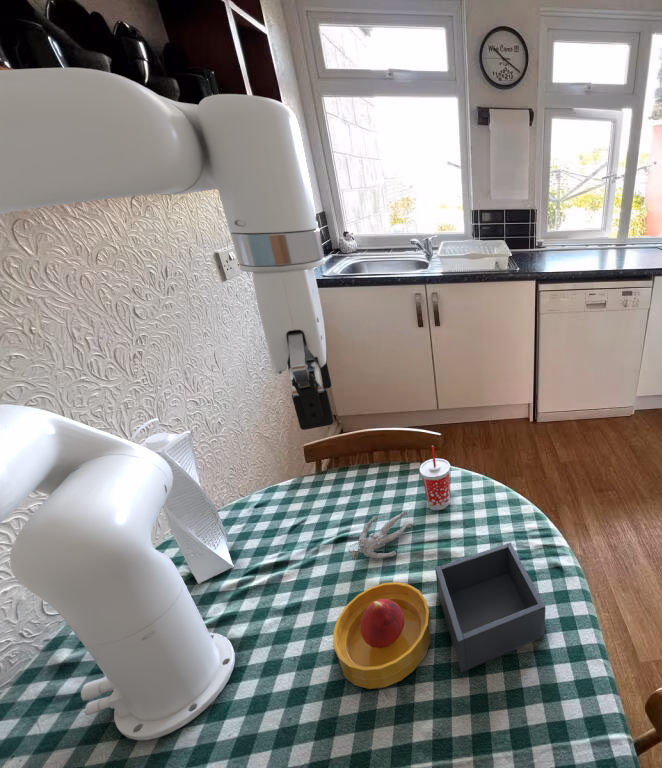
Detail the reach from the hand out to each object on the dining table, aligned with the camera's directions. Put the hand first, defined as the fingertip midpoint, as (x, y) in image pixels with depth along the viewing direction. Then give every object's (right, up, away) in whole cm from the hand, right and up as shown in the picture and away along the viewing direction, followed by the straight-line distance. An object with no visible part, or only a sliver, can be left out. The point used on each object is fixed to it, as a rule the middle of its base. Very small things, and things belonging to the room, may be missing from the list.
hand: (317, 405), depth 47 cm
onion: (+4, -35, +12) cm, 37 cm away
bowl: (+4, -35, +12) cm, 37 cm away
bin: (+19, -33, +16) cm, 41 cm away
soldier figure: (-1, -27, +29) cm, 40 cm away
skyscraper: (-30, -29, +25) cm, 49 cm away
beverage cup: (+7, -22, +39) cm, 45 cm away
